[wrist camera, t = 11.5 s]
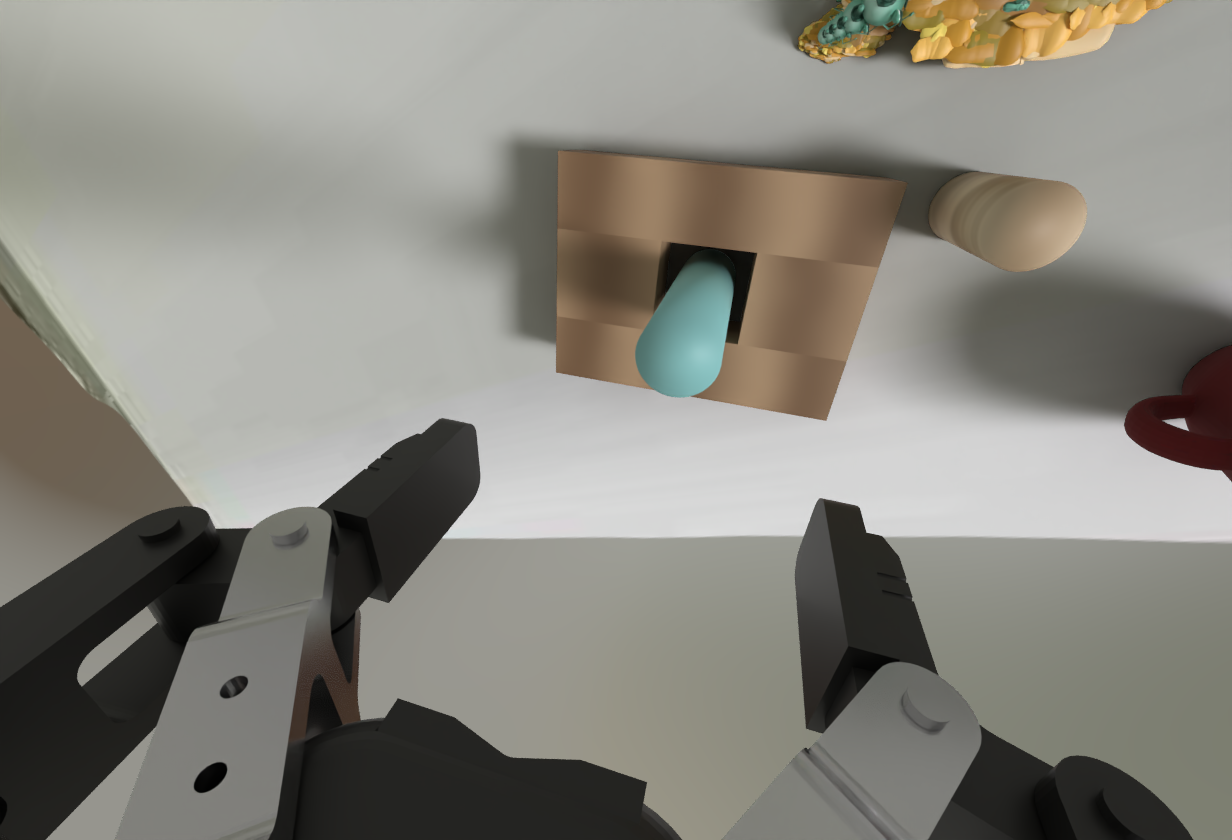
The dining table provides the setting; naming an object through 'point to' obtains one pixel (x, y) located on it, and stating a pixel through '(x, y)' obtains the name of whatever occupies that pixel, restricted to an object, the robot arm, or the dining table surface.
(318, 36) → the dining table surface
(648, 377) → the long pin
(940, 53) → the teal creature figurine
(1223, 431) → the mug
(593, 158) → the hole block
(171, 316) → the dining table surface
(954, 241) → the short pin
